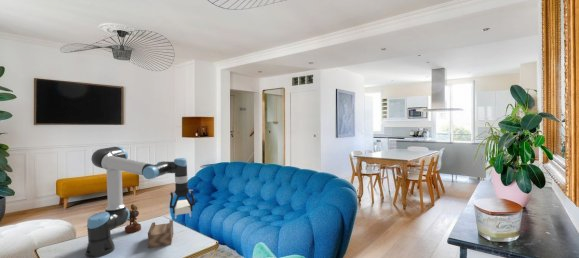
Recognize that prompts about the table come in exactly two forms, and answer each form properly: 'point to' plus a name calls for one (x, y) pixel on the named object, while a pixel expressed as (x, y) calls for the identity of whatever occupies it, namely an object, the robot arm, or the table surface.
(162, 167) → the robot arm
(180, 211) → the thick cream rectangular block
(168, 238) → the brown channel-shaped piece
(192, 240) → the table surface
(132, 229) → the music box
